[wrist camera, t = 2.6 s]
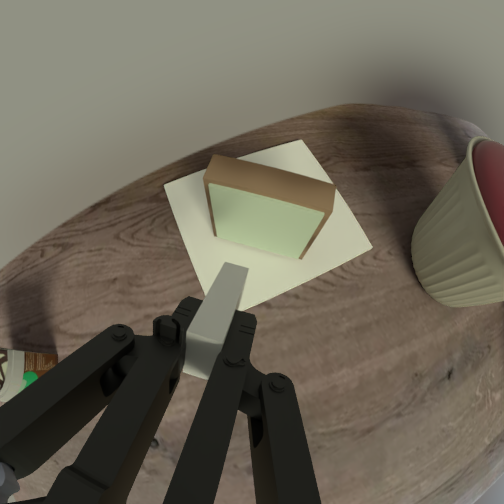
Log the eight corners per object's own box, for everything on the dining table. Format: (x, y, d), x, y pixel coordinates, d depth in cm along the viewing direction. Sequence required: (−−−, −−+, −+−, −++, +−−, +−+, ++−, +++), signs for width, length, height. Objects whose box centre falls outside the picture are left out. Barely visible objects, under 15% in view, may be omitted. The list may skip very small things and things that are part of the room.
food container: (12, 390, 21) (-37, 390, 12) (8, 348, 24) (-41, 339, 14) (72, 403, 23) (19, 414, 13) (66, 355, 25) (11, 349, 15)
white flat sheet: (300, 142, 36) (301, 139, 36) (370, 249, 31) (372, 247, 30) (164, 187, 33) (163, 185, 32) (217, 321, 27) (216, 321, 27)
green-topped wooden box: (301, 261, 29) (332, 214, 19) (213, 238, 30) (201, 180, 20) (305, 239, 30) (336, 185, 20) (220, 216, 31) (213, 153, 21)
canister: (368, 217, 33) (462, 97, 13) (447, 197, 35) (524, 118, 15) (418, 349, 27) (565, 320, 7) (489, 298, 29) (588, 251, 10)
